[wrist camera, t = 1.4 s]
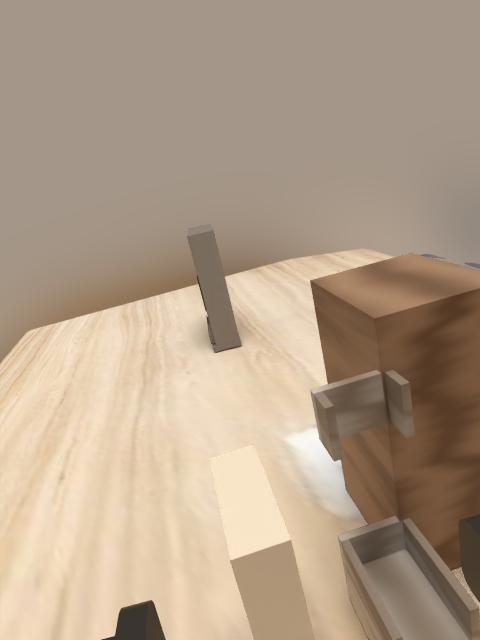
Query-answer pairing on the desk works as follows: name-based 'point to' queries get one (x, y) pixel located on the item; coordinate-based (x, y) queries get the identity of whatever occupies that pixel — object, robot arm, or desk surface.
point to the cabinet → (404, 437)
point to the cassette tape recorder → (213, 288)
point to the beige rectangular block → (260, 548)
